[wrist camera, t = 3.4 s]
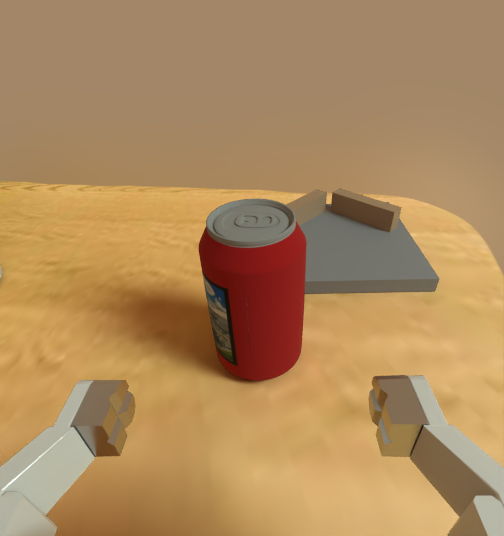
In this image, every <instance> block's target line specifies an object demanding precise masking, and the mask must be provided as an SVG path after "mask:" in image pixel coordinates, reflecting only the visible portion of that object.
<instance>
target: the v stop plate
mask: <svg viewBox="0 0 504 536" xmlns="http://www.w3.org/2000/svg"><path fill="white" fill-rule="evenodd" d="M326 196H327V193H326V192H323V191H320V190H315V191H313V192H311V193H309V194H307V195H305V196H303V197H301V198H299V199H297V200H295V201H293V202H291V203H289V204H287V205H286V206H288V207H289V208H291V209H292V210H293V212H294V213H295V216H296V221H297V223H298V225H299V226H300V228H301V230H302V231H303V233H304V235H305V238H306V242H307V245H306V273H305V294H315V293H368V292H420V291H435V290H436V287H437V284H438V281H439V277H438V276H437V274H436V273H435V271H434V270H433V268H432V267H431V265H430V264H429V262H428V261H427V259H426V258H425V256H424V255H423V253H422V252H421V250H420V249H419V247H418V246H417V244H416V243H415V241H414V240H413V238H412V237H411V235H410V234H409V232H408V231H407V229H406V228H405V226H404V225H403V223H402V222H401V220H400V219H399V216H400V211H401V207H398V206H395V205H392V204H389V202H382V201H379V200H375V199H372V198H369V197H366V196H362V195H359V194H356V193H352V192H349V191H346V190H343V189H338V190H336V191H335V192H333V194H332V204H326Z"/></svg>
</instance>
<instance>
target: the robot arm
mask: <svg viewBox="0 0 504 536" xmlns="http://www.w3.org/2000/svg"><path fill="white" fill-rule="evenodd" d="M1 275H2V269H1V266H0V278H1ZM372 386H373V389H372V390H371V391H370V393H369V409H370V415H371V419H372V421H373V422H374V423H375V424H376V425H377V426H378V428H377V432H376V437H377V441H378V444H379V448H380V452H381V455H382V456H391V457H410V459H411V460H412V462H413V463H414V464H415V465H416V466H417V467H418V469H419V470H420V471H421V472H422V473H423V475H424V476H425V477H426V478H427V479H428V480H429V482H430V483H431V484H432V485H433V486H434V487H435V489H436V490H437V491H438V492H439V493H440V495H441V496H442V497H443V498H444V499H445V500H446V502H447V503H448V504H449V505H450V506H451V507H452V509H453V510H454V511H455V512H456V513H457V514H458V516H459V519H458V520H457V522H456V523H455V524H454V526H453V527H452V528H451V530H450V531H449V533H448V536H504V468H503V467H502V466H501V465H499V464H498V463H497V462H496V461H495V460H494V459H492V458H491V457H490V456H489V455H488V454H487V453H485V452H484V451H483V450H482V449H481V448H479V447H478V446H477V445H476V444H475V443H474V442H472V441H471V440H470V439H469V438H468V437H467V436H465V435H464V434H463V433H462V432H461V431H460V430H458V429H457V428H456V427H455V426H454V425H448V424H447V422H446V419H445V417H444V415H443V413H442V411H441V409H440V407H439V404H438V402H437V400H436V398H435V396H434V394H433V391H432V389H431V387H430V385H429V383H428V381H427V379H426V378H425V377H424V376H423V375H415V376H406V375H397V376H374V377H373V380H372ZM128 387H129V385H128V383H127V382H126V380H80V381H79V382H78V383H77V384H76V385H75V386H74V388H73V390H72V392H71V394H70V396H69V398H68V400H67V401H66V403H65V405H64V407H63V409H62V411H61V413H60V415H59V416H58V418H57V420H56V422H55V424H54V426H53V427H48V428H47V429H46V430H44V431H43V432H42V433H41V434H40V435H38V436H37V437H36V438H35V439H34V440H32V441H31V442H30V443H29V444H27V445H26V446H25V447H24V448H23V449H21V450H20V451H19V452H18V453H17V454H15V455H14V456H13V457H12V458H11V459H9V460H8V461H7V462H6V463H5V464H3V465H2V466H1V467H0V536H55V533H56V531H57V526H56V524H55V523H54V522H53V521H52V520H51V519H50V518H49V517H47V516H46V514H47V513H48V512H49V511H50V509H51V508H52V507H53V506H54V505H55V504H56V503H57V501H58V500H59V499H60V498H61V497H62V496H63V495H64V493H65V492H66V491H67V490H68V489H69V488H70V487H71V485H72V484H73V483H74V482H75V481H76V480H77V478H78V477H79V476H80V475H81V474H82V473H83V472H84V470H85V469H86V468H87V467H88V466H89V465H90V464H91V462H92V461H93V460H94V459H95V457H103V456H120V455H121V453H122V450H123V447H124V444H125V441H126V438H127V434H126V431H125V428H127V427H128V426H129V425H130V424H131V423H132V420H133V417H134V413H135V399H134V396H133V394H132V393H130V392H128V391H127V390H128Z"/></svg>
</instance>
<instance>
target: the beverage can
mask: <svg viewBox="0 0 504 536" xmlns="http://www.w3.org/2000/svg"><path fill="white" fill-rule="evenodd" d="M306 245H307V242H306V238H305V235H304V233H303V231H302V230H301V228H300V226H299V225H298V223H297V221H296V216H295V213H294V212H293V210H292V209H291V208H289V207H288V206H286V205H285V204H282V203H280V202H277V201H273V200H267V199H244V200H238V201H233V202H230V203H227V204H224V205H222V206H220V207H218V208H216V209H215V210H214V211H212V212H211V213H210V214H209V216H208V217H207V220H206V228H205V230H204V233H203V235H202V237H201V240H200V243H199V255H200V261H201V267H202V273H203V279H204V285H205V291H206V297H207V302H208V308H209V313H210V319H211V324H212V330H213V335H214V340H215V345H216V350H217V355H218V358H219V360H220V362H221V363H222V365H223V366H224V367H225V368H226V369H227V370H228V371H229V372H231V373H232V374H234V375H236V376H238V377H241V378H244V379H248V380H267V379H272V378H275V377H278V376H280V375H282V374H284V373H285V372H287V371H288V370H289V369H291V368H292V367H293V366H294V364H295V363H296V362H297V360H298V358H299V356H300V353H301V346H302V331H303V315H304V295H305V273H306Z"/></svg>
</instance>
